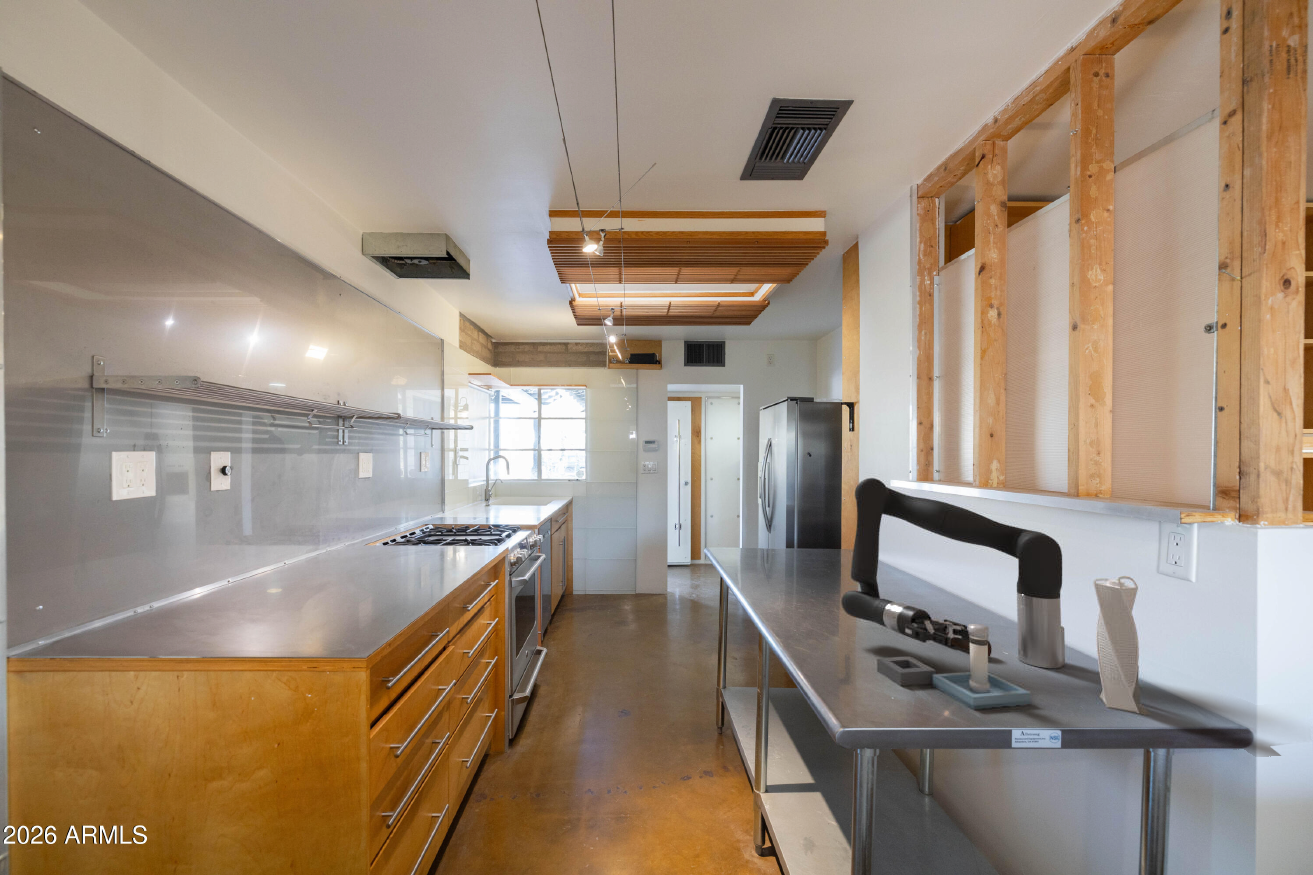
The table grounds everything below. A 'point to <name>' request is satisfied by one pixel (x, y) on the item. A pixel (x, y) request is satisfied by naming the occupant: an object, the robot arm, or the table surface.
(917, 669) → the fuse holder
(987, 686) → the fuse
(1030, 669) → the table surface
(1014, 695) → the tray
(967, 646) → the bolt
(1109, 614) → the skyscraper
